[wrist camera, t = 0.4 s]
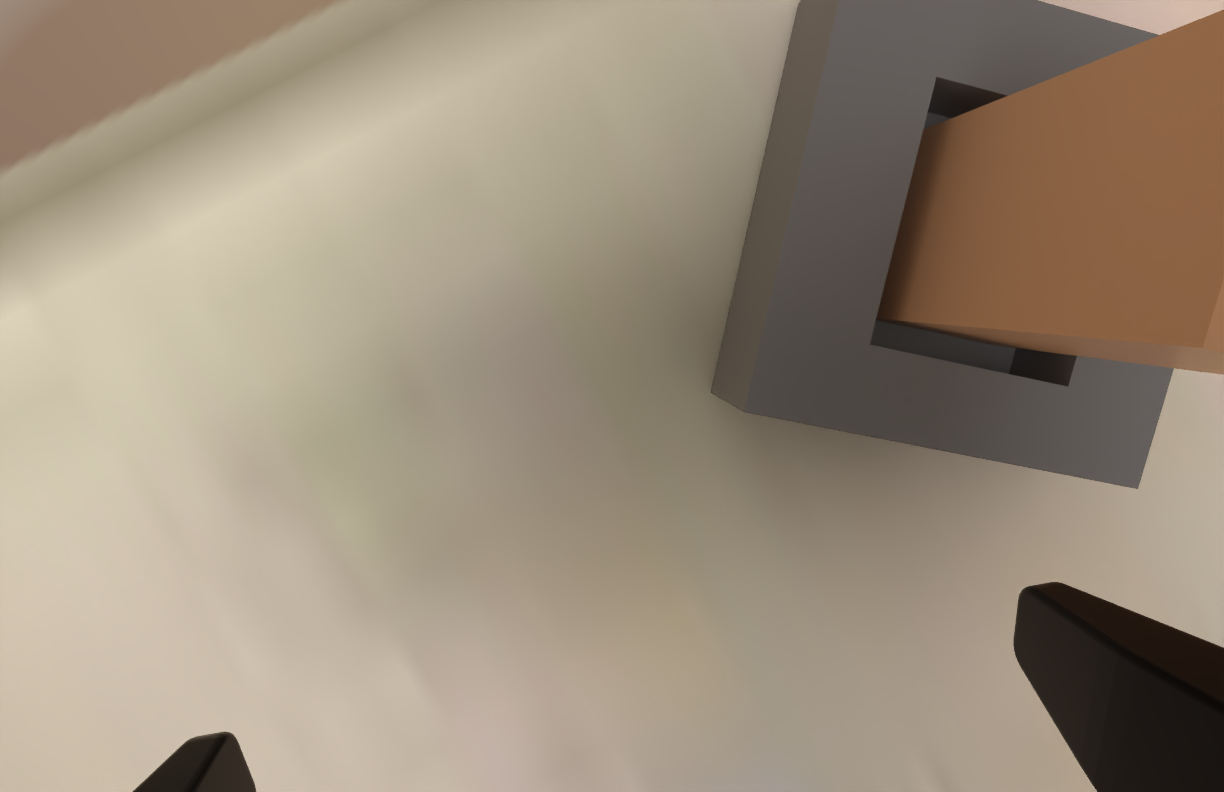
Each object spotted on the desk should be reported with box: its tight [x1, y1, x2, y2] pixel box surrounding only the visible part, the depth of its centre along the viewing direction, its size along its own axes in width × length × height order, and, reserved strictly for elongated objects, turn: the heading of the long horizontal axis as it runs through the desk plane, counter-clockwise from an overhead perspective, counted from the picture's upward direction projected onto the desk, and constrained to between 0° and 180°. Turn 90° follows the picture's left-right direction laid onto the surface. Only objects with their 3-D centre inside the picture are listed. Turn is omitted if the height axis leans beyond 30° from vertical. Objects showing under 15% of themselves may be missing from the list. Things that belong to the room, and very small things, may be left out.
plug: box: [876, 10, 1224, 374], centre depth 15 cm, size 5×4×13 cm
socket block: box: [711, 0, 1174, 489], centre depth 21 cm, size 11×11×4 cm
